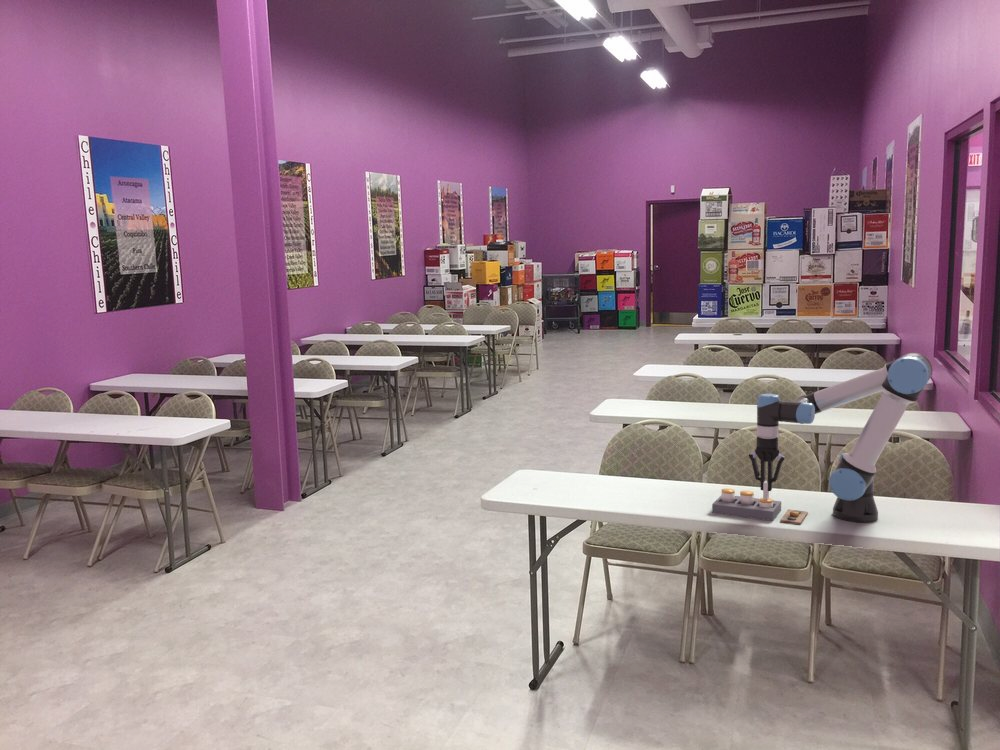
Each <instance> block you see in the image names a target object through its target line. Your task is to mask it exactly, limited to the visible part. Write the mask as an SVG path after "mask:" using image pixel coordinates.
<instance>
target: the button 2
mask: <svg viewBox="0 0 1000 750" xmlns="http://www.w3.org/2000/svg"><path fill="white" fill-rule="evenodd" d="M758 499H759V507H766V508H773V500H774V499H772V498H770V497H769V499H768V500H763V497H760V498H758Z"/></svg>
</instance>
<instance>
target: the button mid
mask: <svg viewBox="0 0 1000 750" xmlns="http://www.w3.org/2000/svg"><path fill="white" fill-rule="evenodd" d="M739 494H740V495H739V496H740V504H742V505H750V506H752V505H754V498H755V497H754V495H755V493H754V491H751V490H741V491H740V492H739Z"/></svg>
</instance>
